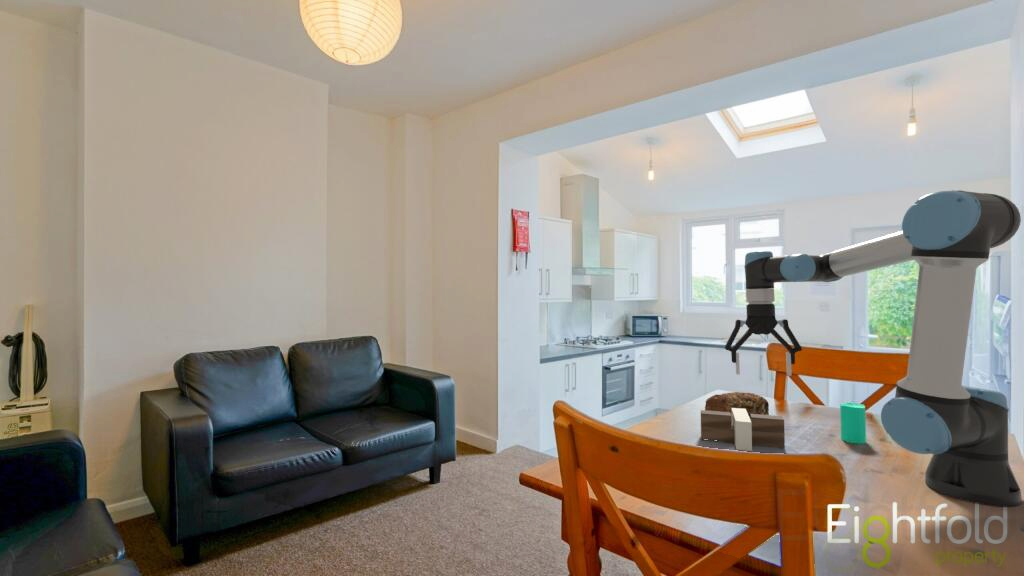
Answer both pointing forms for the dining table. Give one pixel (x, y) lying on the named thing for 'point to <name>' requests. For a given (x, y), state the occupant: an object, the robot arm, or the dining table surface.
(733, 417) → the cream bar
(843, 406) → the candle
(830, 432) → the dining table surface
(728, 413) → the walnut rail
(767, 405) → the bread
